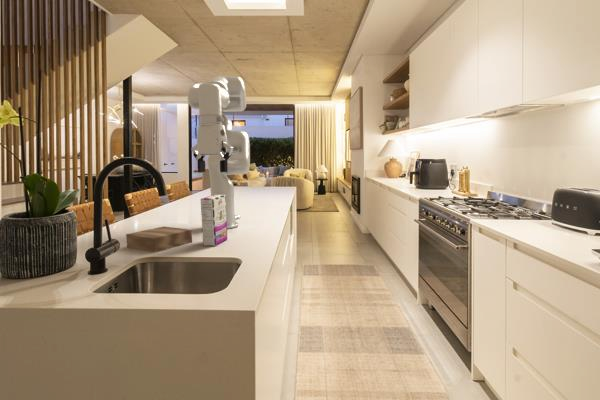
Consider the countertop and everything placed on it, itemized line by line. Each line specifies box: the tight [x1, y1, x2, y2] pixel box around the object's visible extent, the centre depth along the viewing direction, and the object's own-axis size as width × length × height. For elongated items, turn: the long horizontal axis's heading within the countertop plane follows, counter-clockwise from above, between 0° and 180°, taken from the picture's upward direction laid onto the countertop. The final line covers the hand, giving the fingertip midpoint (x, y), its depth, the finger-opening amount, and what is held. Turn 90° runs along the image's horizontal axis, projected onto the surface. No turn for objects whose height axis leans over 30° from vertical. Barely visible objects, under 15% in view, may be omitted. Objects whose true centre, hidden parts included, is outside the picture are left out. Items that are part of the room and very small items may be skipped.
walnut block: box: [125, 226, 193, 253], centre depth 142 cm, size 16×14×5 cm
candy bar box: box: [200, 195, 228, 247], centre depth 144 cm, size 11×5×16 cm, turn 168°
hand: (212, 172), depth 141 cm, fingers open, 9 cm apart
